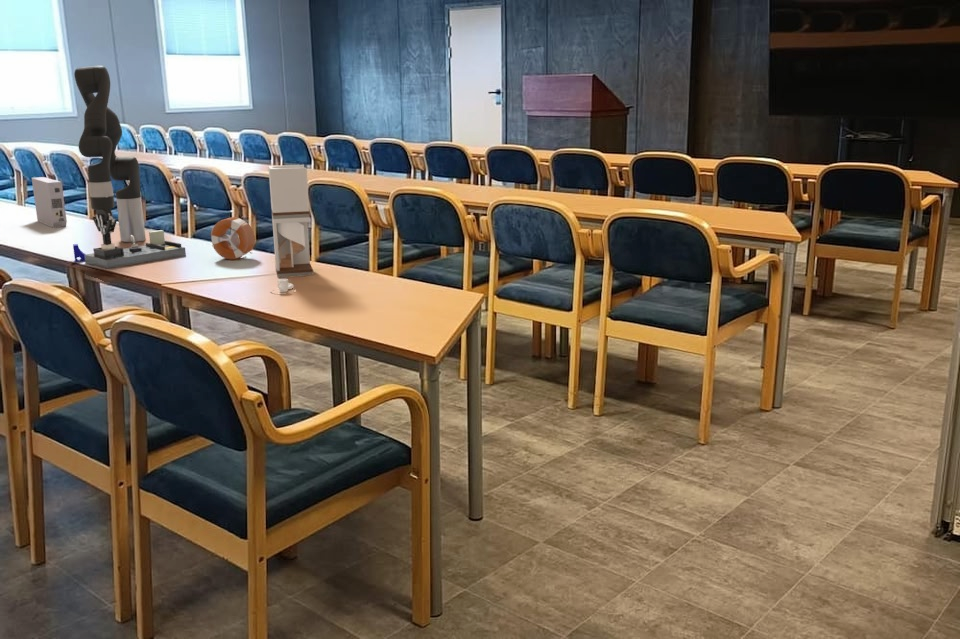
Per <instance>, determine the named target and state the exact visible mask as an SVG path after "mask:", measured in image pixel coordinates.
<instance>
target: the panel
mask: <svg viewBox="0 0 960 639" xmlns="http://www.w3.org/2000/svg"><path fill="white" fill-rule="evenodd" d="M85 254H86V253H85ZM84 256H85V261H84V262H85V264H87V265H88V264H89V265H91V266H95V267H98V268H99V267H100V268H103V269H106V270H108V269H109V270H110V269H115V268H119V267H127V266H132V265H139V264H145V263H151V262H156V261H160V260H161V261H163V260H168V258H169V259H173V258H178V257H185V256H187V254H186V247H185V246H182V243H180V242H179V243H178V242H174V241H169V240H165V244H161V245H156V244H151V243H150V242H145V244H144V245H139V247H135V248H132V247H131V246H130V247H126V248H124V247H120V246H115V249H111V250H102V249H101V247H97V248H96V247H95V248H93V252H92V253H87V254H86V255H84Z"/></svg>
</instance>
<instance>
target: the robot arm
mask: <svg viewBox="0 0 960 639" xmlns="http://www.w3.org/2000/svg"><path fill="white" fill-rule="evenodd" d="M73 74H74V76H73V77H74V80H75V83H76V87H77V89H78V91H79V93H80V95H81V98H82V100H83V102H84V104H85V107H86V109H85V112H84V116H83V117H84V119H83V120H84V121H83V124H84V126H83V130H82V134H81V136H80V138H79V141H78V152H79V153H80V155H82V156H83V157H85V158H99V157H100V158H102V159H101V161H100V162H96V163H94V164H93V163H92V164H90V165H88V166H87V176H88V177H87V178H88V191H89V192H88V193H89V199H90V208H91V209H92V210H93V211H94V210H95V216H92V220H93V222H94V225H95V226H96V227H95V228H97V231H98V232H100V234H101V235H102V244H105V245H109V244H111V243H112V236H111V234H112V233H114V232H115V229H116V226H117V223H118V229H119V235H120V241H121V242H123V243H132V241H131V238H130V236H131V235H133V236H134V239H135V242H136V243H138V242H143V241H146V239H147V238H146V230H145V221H144V211H143V203H142V193H141V180H140V166H139V161H138V159H137V158H136V157H135V156H117V155H116V149H117V146H118V144H119V143H120V141H121V138H122V135H123V130H122V129H123V128H122V126H121V123H120V120H119V118H118V115H117V114H116V113H115V111H114V110H112V109H111V108H109V107H108V105H109V104H108V103H109V97H110V91H111V79H110V74H109V71H108V69H107V68H106V66H104V65H92V66H91V65H90V66H81V67H77V68H76V69H75V70H74V73H73ZM95 94H96V95H95ZM111 179H112V180H113V181H119V182H120V181H129V183H128V185H126V186H125V187H123V188H121V189H118V190H116V191H115V197H114V188H113V185H112V180H111ZM115 198H116V206H117V216H118V217H117V219H118V222H117V219H116V218H114V217H113V212H112V209H114V208H115Z"/></svg>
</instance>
